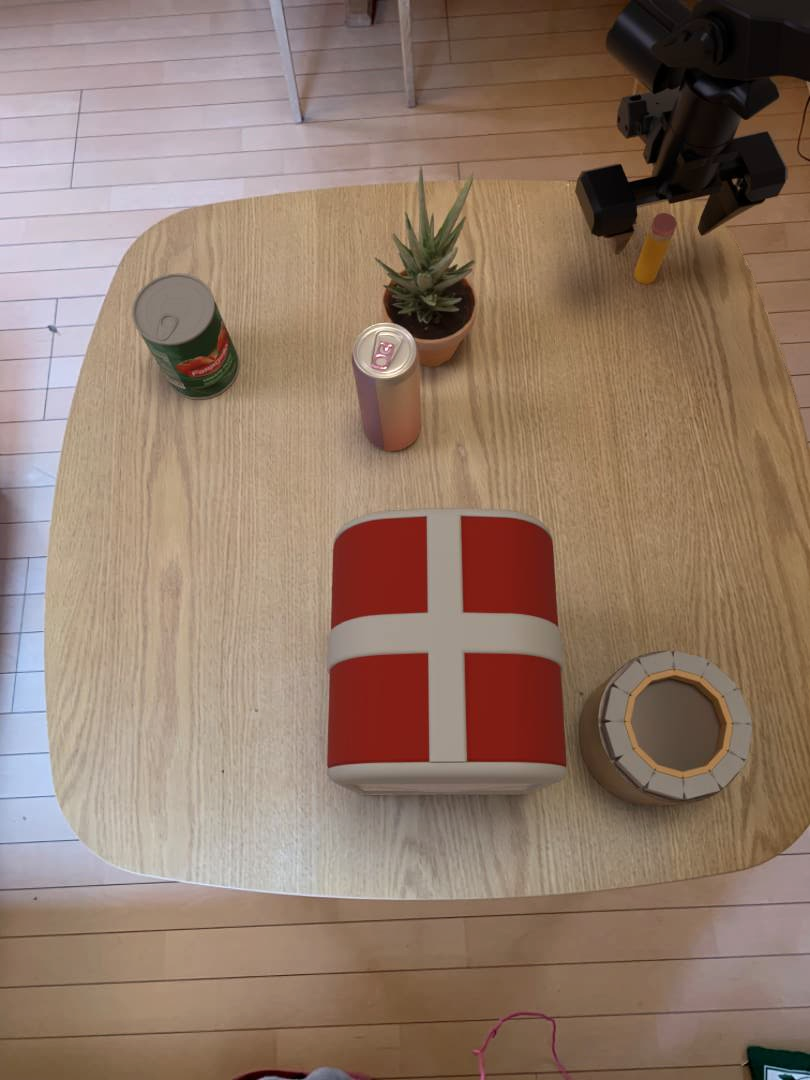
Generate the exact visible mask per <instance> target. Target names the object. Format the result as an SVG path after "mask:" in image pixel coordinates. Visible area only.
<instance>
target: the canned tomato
mask: <svg viewBox="0 0 810 1080" xmlns="http://www.w3.org/2000/svg"><path fill="white" fill-rule="evenodd" d="M131 317H132V322H133V325H134V328H135V329H136V331H138V333H139V335H140V336H141V338H142V339H143V342H144V343H145V345H146V346H147V348H148V349H149V351H150V353H151V355H152V356H153V358H154V360H155V361H156V363H157V365H158V366H159V368H160V369H161V371H162V373H163V375H164V376H165V378H166V380H167V381H168V384H169V385H170V387H171V388H172V389H173V390H174V391H175V392H176V393H177V394H178V395H180V396H182V397H184V398H187V399H190V400H207V399H211V398H214V397H217V396H219V395H221V394H222V393H224V392H226V391H227V390H228V389H229V388H230V387H231V386H232V385H233V383H234V382H235V381H236V379H237V376H238V374H239V370H240V357H239V354H238V352H237V350H236V348H235V346H234V343H233V341H232V338H231V336H230V334H229V333H230V332H229V331H228V328H227V326H226V324H225V322H224V319H223V316H222V314H221V311H220V309H219V308H218V305H217V302H216V300H215V298H214V295H213V292H212V290H211V288H210V287H209V286H208V285H207V284H206V282H204V281H203V280H201V279H200V278H198V277H196V276H194V275H191V274H188V273H181V272H175V273H174V272H173V273H168V274H163V275H160V276H158V277H156V278H154V279H152V280H150V281H149V282H148V283H146V284H145V285H144V286H143V287H142V288H141V289H140V290H139V291H138V293H137V295H136V296H135V298H134V300H133V303H132V307H131Z"/></svg>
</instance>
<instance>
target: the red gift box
mask: <svg viewBox="0 0 810 1080" xmlns="http://www.w3.org/2000/svg"><path fill="white" fill-rule="evenodd" d="M331 570H332V571H331V573H332V574H331V575H332V576H331V610H330V611H331V612H330V631H329V633H328V635H327V651H326V652H327V653H326V654H327V657H326V670H327V673H328V675H329V683H328V684H329V686H328V717H327V718H328V721H327V722H328V723H327V727H328V728H327V755H326V756H327V760H326V767H327V770H326V771H327V776H328V778H329V780H330V781H331V782H333V783H335V784H336V785H338V786H339V787H342V788H344V789H347V790H349V791H350V792H353V793H355V794H357V795H360V796H455V795H456V796H469V795H471V796H472V795H473V796H477V795H478V796H480V795H482V796H484V795H489V796H490V795H491V796H492V795H493V796H497V795H505V796H510V795H513V796H515V795H520V796H521V795H524V796H525V795H529V794H531V793H535V792H537V791H539V790H542V789H545V788H547V787H550V786H552V785H556V784H558V783H560V782H561V781H563V780H564V779H565V777H566V776H567V772H568V771H567V766H568V763H567V747H566V730H565V714H564V699H563V684H562V683H563V681H562V672H563V669H564V665H565V664H564V654H563V653H564V651H563V650H564V649H563V636H562V635H563V634H562V631H561V629H560V628H559V616H558V602H557V601H558V599H557V584H556V568H555V553H554V539H553V535H552V533H551V531H550V529H549V528H548V527H547V525H546V524H545V523H544V522H543V521H541V520H540V519H538V518H536V517H535V516H532V515H531V514H527V513H525V512H521V511H517V510H512V509H511V510H510V509H502V508H501V509H500V508H474V507H473V508H471V507H435V508H434V507H432V508H428V507H427V508H412V509H409V508H408V509H395V510H394V509H393V510H381V511H374V512H370V513H366V514H363V515H360V516H357V517H355V518H353V519H351V520H349V521H347V522H346V523H345V524H344V525H342V527H341V528H340V529H339V530H338V531H337V532H336V534H335V536H334V539H333V548H332V569H331Z"/></svg>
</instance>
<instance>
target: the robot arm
mask: <svg viewBox="0 0 810 1080" xmlns="http://www.w3.org/2000/svg"><path fill="white" fill-rule="evenodd" d="M604 46H605V51H606V53H607V54H608V55H609V56H610V57H611V58H612V59H614V60H615V61H616V62H617V63H618V64H619V65H621V66H622V68H624V69H625V70H626V71H627V72H628V73H629V74H630V75H632V76H633V77H634V78H635V79H636V80H637V81H638V82H639V83H641V85H643V86H644V87H645V88H646V89H647V90H648V91H650V92H644V93H635V94H631V95H626V96H623V97H622V98H621V100H620V103H619V106H618V109H617V115H616V127H617V130H618V131H619V132H620V133H621V135H622V136H623V137H624V138H625V139H626V140H628V139H633V138H637V137H638V138H640V140H641V141H642V142H643V143H644V145H645V147H644V149H643V152H642V156H643V159H644V161H645V164H646V165H650V164H651V165H652V170H651V171H652V172H651V176H649V177H645V178H639V179H635V180H632V181H631V180H630V181H629V180H628V178H627V175H626V172H625V170H624V167H623V165H622V163H613V164H609V165H604V166H600V167H595V168H591V169H586V170H582V171H581V172H580V174H579V176H578V178H577V181H576V184H575V189H574V192H575V195H576V198H577V201H578V203H579V205H580V208H581V211H582V214H583V216H584V218H585V221H586V224H587V226H588V229H589V232H590V234H591V235H594V236H596V237H598V238H600V237H603V238H605V239H609V240H610V244H611V249H612V251H613V254H614V255H615V256H618V255H620V254H621V253H622V252H623V251H624V249H625V248H626V246H627V245H628V243H629V242H630V240H631V238H632V236H633V235H634V233H635V230H636V229H635V228H634V225H635V224H636V220H637V218H638V209H640V208H643V207H648V206H653V205H657V204H662V203H666V202H667V203H668V205H671V204H675V203H681V202H685V201H690V200H693V199H698V198H703V197H707V196H708V199H707V201H706V203H705V205H704V209H703V210H702V213H701V215H700V217H699V222H698V225H697V230H698V233H699V235H700V236H701V237H703V236H706V235H707V234H710V233H712V231H714V230H715V229H718V227H720V226H723V224H725V223H727V222H729V221H730V220H732V219H734V218H736V217H737V216H739V215H741V214H743V213H744V212H746V211H748V210H750V209H752V208H753V207H755V206H758V205H762V204H763V203H765V201H766V200H767V199H768V200H769V199H772V198H776V197H778V196H779V195H780V193H781V191H782V190H783V188H784V186H785V184H786V183H787V181H788V179H789V168H788V166H787V164H786V162H785V160H784V158H783V156H782V154H781V151H780V149H779V147H778V146H777V144H776V142H775V140H774V137H773V136H772V135H771V133H770V132H769V131H767V130H765V131H764V130H762V131H757V132H756V131H755V132H752V133H747V134H743V135H738V136H736V133H737V131H738V128H739V126H740V124H741V122H742V120H743V121H748V120H750V119H752V118H753V117H754V116H756V115H758V114H759V113H760V112H762V111H764V110H765V109H766V108H768V107H769V106H771V105H772V104H774V103H776V102H777V101H778V100H779V99H780V92H779V89H778V87H777V84H776V83H775V82H774V81H773V80H772V78H774V77H787V78H789V77H790V78H795V79H798V80H802V81H804V82H808V83H810V0H698V1H697V2H696V3H695V4H694V5H693V8H692V10H691V9H689V8H688V7H686V6H685V4H683V3H682V2H681V1H679V0H630V1H629V2H628V3H627V4H626V5H625V6H624V8H623V9H622V10H621V12H620V13H619V14H618V16H617V17H616V19H615V21H614V23H613V25H612V27H611V28H610V29H609V30H608V31H607V34H606V37H605V43H604Z"/></svg>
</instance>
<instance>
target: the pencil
mask: <svg viewBox="0 0 810 1080" xmlns="http://www.w3.org/2000/svg"><path fill="white" fill-rule="evenodd" d="M676 227H677V220H676V218H675V216H673V215H672V214H671V213H667V212H661V213H659V214H657V215H655V216H654V217H653V220H652V222H651V224H650V227H649V229H648V232H647V235H646V238H645V240H644V243H643V246H642V249H641V251H640V254H639V256H638V257H639V258H638V260H637V263H636V266H635V268H634V271H633V276H634V280H636V281H637V282H638V283H640V284H644V285H647V284H651V283H653V282H654V281H655V280H656V278H657V275H658V274H659V271H660V269H661V265H662V264H663V261H664V258H665V256H666V253H667V251H668V248H669V246H670V243H671V241H672V238H673V236H674V233H675V231H676Z"/></svg>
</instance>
